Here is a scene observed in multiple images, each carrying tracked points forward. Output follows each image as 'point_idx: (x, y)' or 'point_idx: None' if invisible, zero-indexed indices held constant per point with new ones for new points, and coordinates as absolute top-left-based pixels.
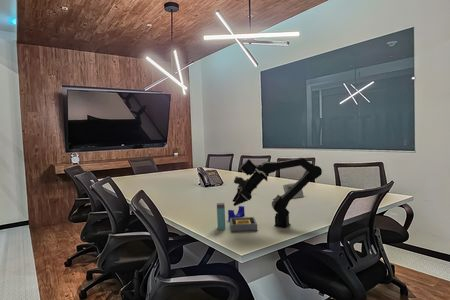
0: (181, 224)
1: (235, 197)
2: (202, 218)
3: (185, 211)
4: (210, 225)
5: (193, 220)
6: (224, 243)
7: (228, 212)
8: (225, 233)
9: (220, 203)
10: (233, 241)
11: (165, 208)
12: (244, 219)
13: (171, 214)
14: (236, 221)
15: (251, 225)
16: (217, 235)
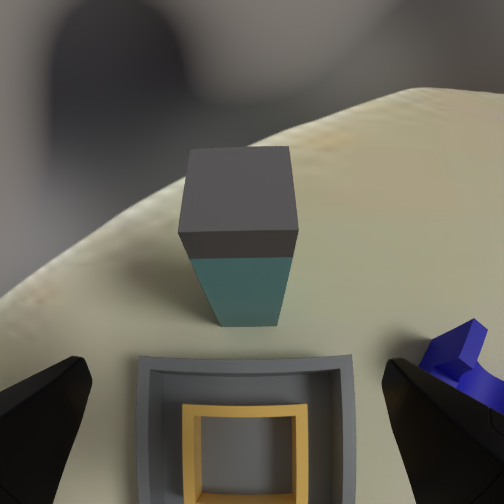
0: (337, 114)
1: (426, 416)
2: (443, 190)
3: (500, 140)
4: (322, 230)
5: (405, 153)
6: (19, 302)
7: (462, 326)
8: (139, 322)
9: (262, 182)
10: (25, 347)
11: (497, 99)
12: (339, 472)
13: (453, 100)
14: (264, 410)
15: (142, 502)
16: (119, 274)
